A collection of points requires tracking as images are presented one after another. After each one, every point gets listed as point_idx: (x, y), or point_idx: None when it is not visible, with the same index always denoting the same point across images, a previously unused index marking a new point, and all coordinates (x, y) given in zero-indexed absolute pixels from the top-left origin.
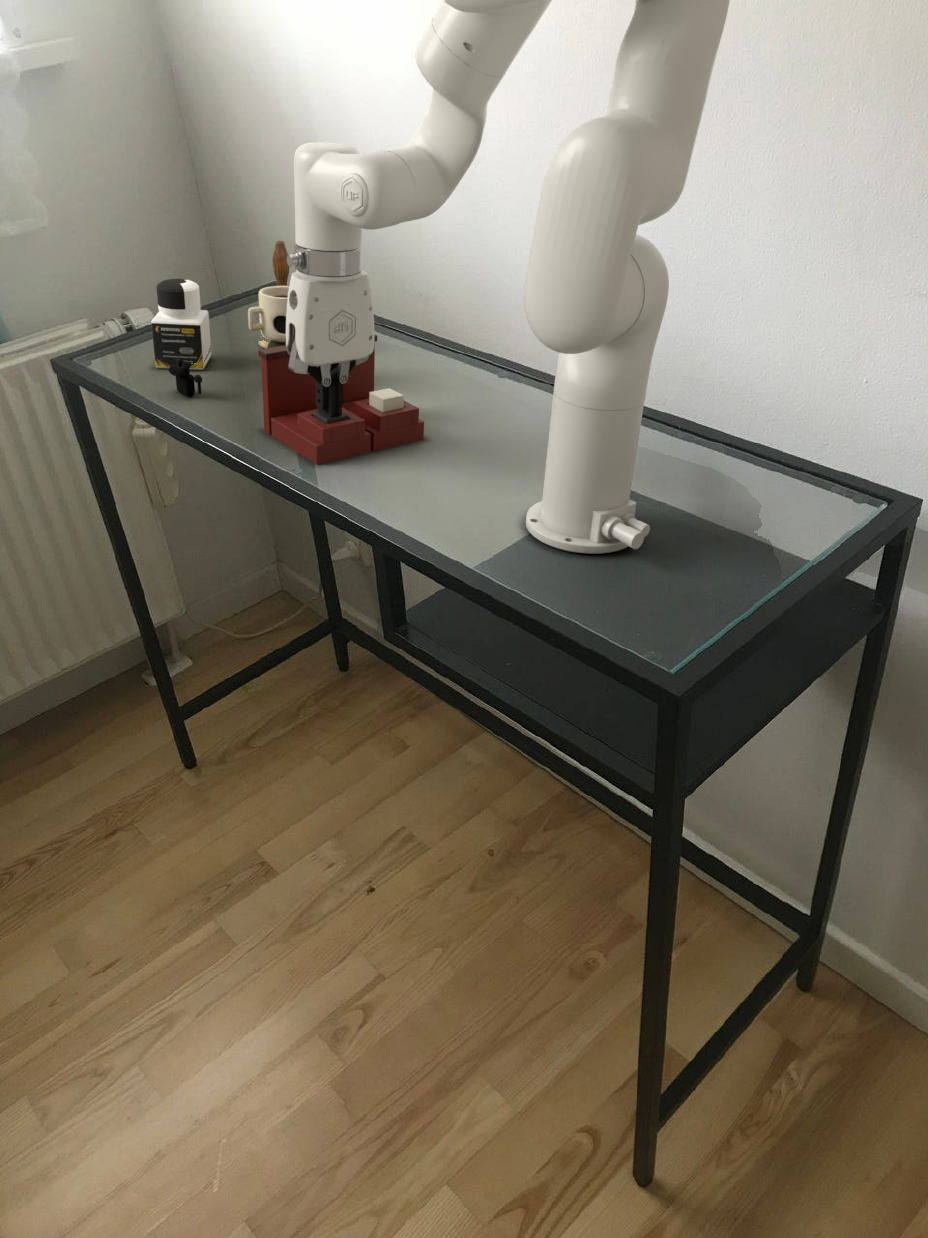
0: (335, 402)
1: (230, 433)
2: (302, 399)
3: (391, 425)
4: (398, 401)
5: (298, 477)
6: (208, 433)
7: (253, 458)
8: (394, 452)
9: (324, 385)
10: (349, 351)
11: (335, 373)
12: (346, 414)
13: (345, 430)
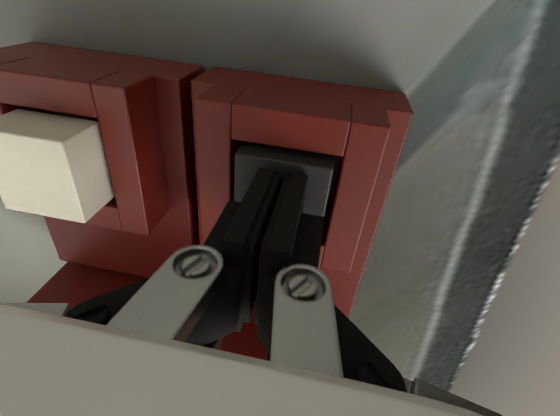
0: (270, 205)
1: (401, 334)
2: (247, 326)
3: (102, 69)
4: (10, 122)
5: (527, 51)
6: (433, 355)
7: (485, 230)
8: (151, 17)
9: (322, 273)
10: (59, 411)
11: (210, 314)
12: (237, 163)
13: (289, 103)
